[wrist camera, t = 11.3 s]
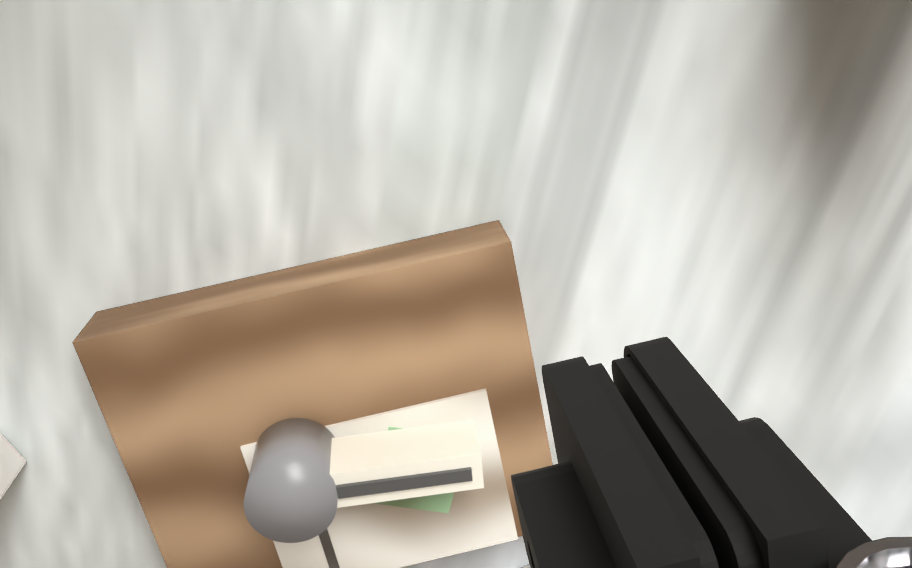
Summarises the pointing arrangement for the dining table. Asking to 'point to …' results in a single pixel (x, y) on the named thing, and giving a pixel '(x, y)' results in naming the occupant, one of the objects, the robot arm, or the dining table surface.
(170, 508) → the board
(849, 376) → the dining table surface
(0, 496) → the milk carton
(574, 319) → the dining table surface
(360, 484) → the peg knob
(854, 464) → the dining table surface
